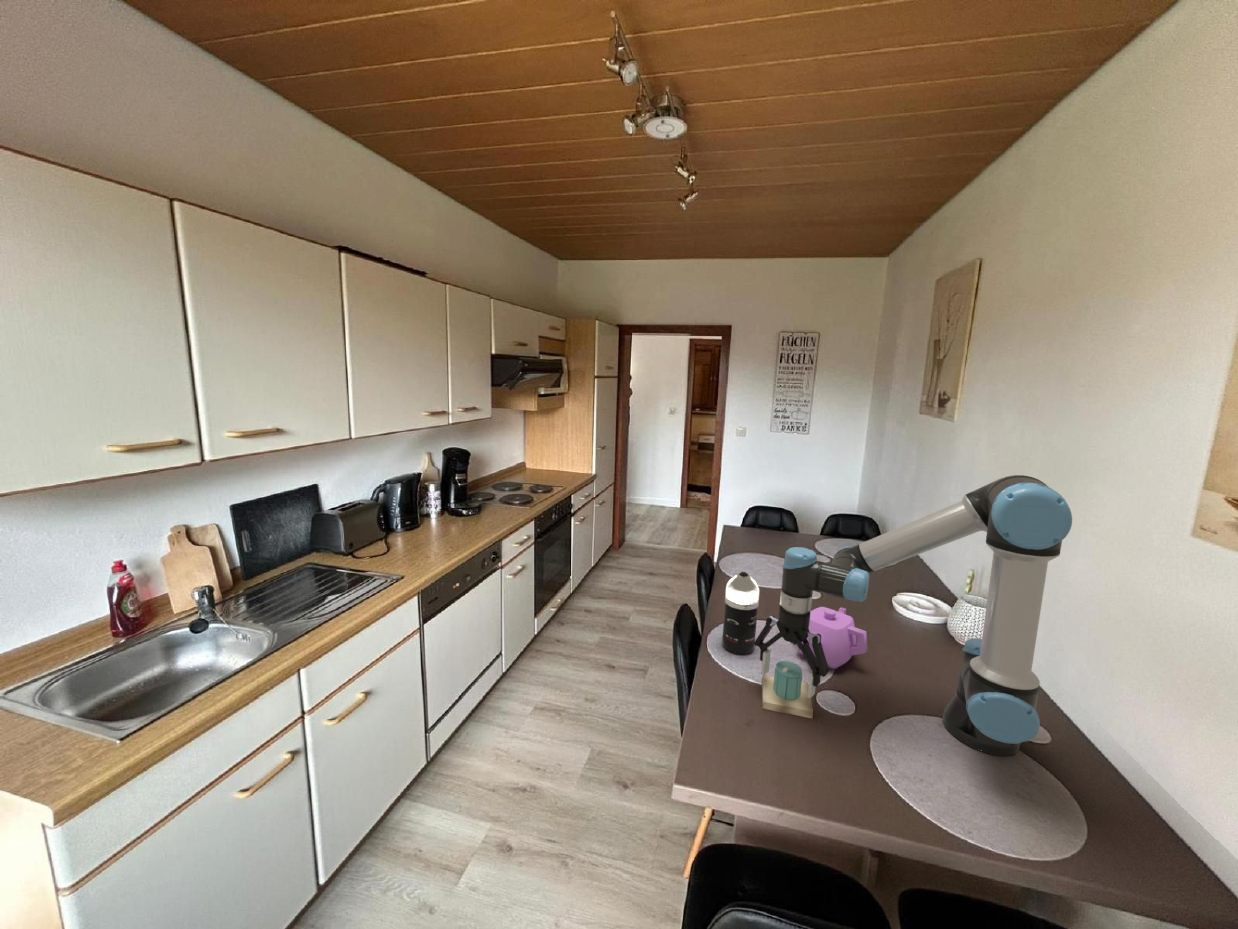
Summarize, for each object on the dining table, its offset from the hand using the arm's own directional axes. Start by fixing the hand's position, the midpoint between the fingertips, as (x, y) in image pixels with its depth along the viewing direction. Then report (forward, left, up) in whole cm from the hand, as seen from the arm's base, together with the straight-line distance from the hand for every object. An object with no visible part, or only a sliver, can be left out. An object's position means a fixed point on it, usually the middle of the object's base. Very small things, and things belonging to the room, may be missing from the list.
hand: (787, 683), depth 128 cm
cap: (0, 0, -2) cm, 2 cm away
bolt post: (0, 0, -4) cm, 4 cm away
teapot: (-13, -25, -5) cm, 29 cm away
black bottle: (+13, -22, -5) cm, 26 cm away
